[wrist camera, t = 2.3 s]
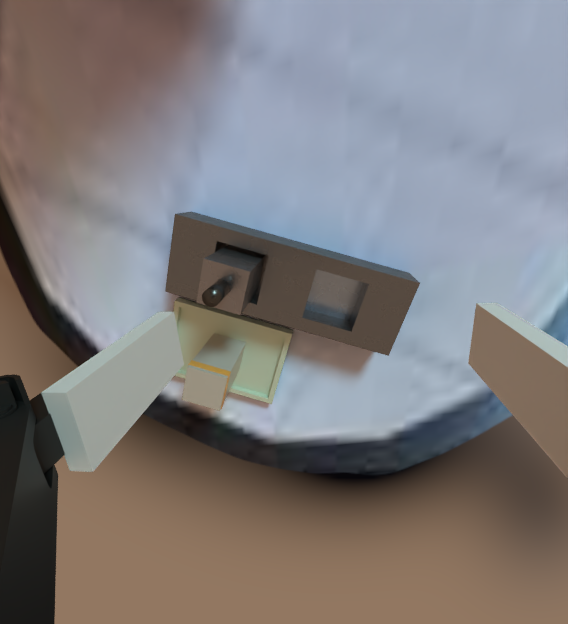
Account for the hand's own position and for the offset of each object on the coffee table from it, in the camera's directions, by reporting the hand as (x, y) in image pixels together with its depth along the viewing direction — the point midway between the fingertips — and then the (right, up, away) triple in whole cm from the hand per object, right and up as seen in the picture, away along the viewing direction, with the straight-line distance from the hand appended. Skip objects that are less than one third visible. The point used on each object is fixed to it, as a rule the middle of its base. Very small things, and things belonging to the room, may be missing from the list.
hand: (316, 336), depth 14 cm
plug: (-8, -4, +25) cm, 27 cm away
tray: (-8, -4, +25) cm, 27 cm away
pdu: (-1, +5, +21) cm, 22 cm away
